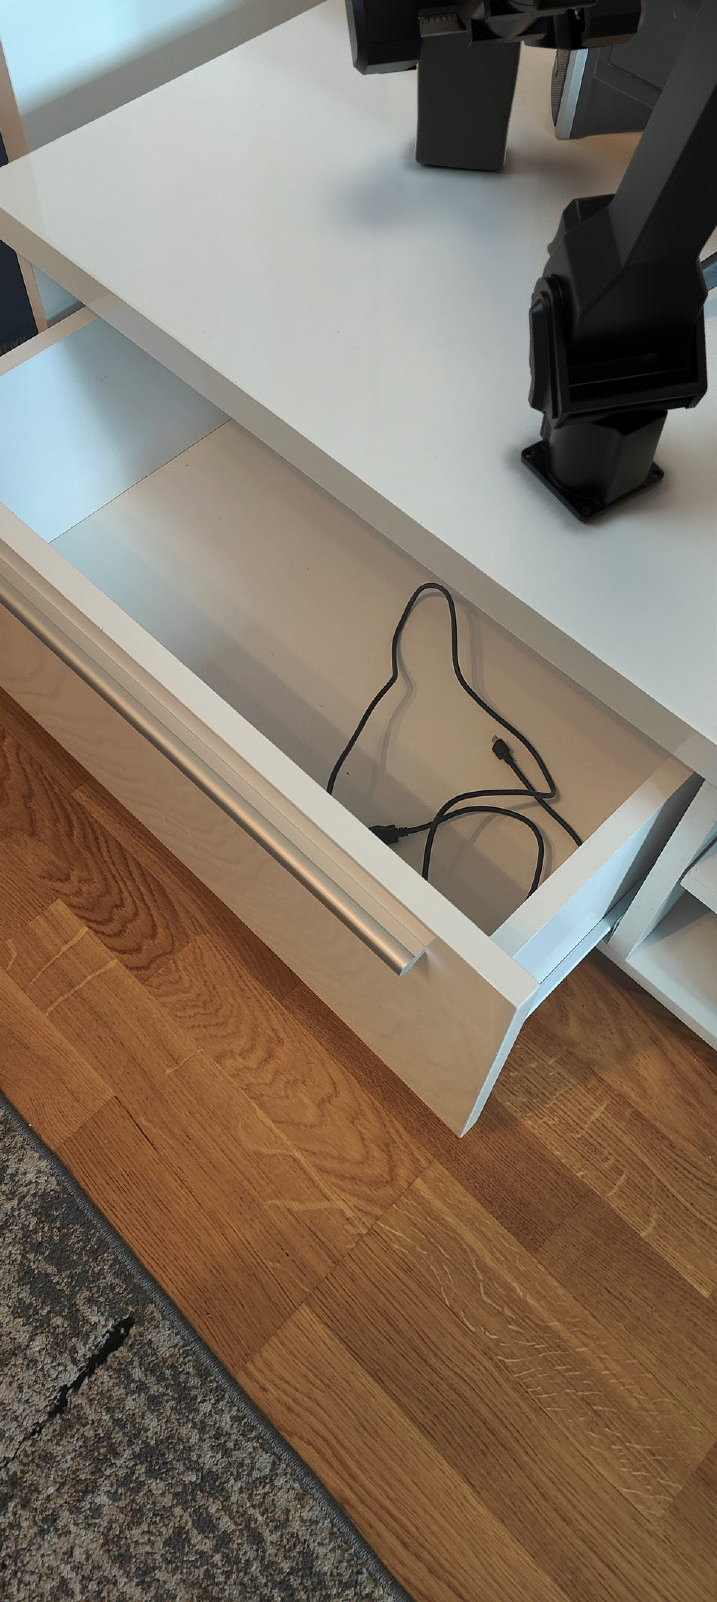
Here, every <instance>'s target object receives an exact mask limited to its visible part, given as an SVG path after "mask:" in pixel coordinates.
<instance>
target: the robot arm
mask: <svg viewBox="0 0 717 1602" xmlns="http://www.w3.org/2000/svg"><path fill="white" fill-rule="evenodd" d="M344 6H345V14H346V22H347V30H348V37H349V38H348V39H349V45H350V52H351V61H352V66H353V68H354V69H356V71H357V72H359V73H360V74H361V75H362V76H368V75H376V74H377V75H386V74H393V73H400V72H401V73H402V72H408V71H409V72H411V71H417V63H418V62H419V60H420V48H421V38H425V37H434V36H442V35H450V34H459V33H467V42H468V48H469V47H477V46H485V45H493V44H502V43H510V42H518V41H522V42H523V44H524V46H526V47H531V48H538V49H546V50H547V49H548V50H557V51H566V52H575V51H580V50H590V49H596V48H597V49H598V48H604V47H606V46H613V45H622V44H627V43H628V42H629V41H630V40H631V39H632V38H633V37H635V36H636V35H637V33H638V32H639V30H640V29H641V27H642V26H643V24H644V21H645V17H646V11H647V1H646V0H344ZM448 14H450V15H449V19H447V16H446V15H448ZM452 14H456V15H455V19H454V18H453V15H452ZM440 15H444V16H443V20H441V17H440ZM431 16H432V17H431ZM434 16H437V20H436V21H435V18H434ZM459 16H460V17H459ZM422 17H426V18H425V20H424V23H423V20H422ZM428 17H431V20H430V22H429V19H428ZM716 228H717V0H702V2H701V5H700V7H699V9H698V12H697V14H696V16H695V18H694V20H693V22H692V25H691V27H690V29H689V31H688V33H687V36H686V38H685V40H684V42H683V44H682V47H681V49H680V50H679V53H678V55H677V58H676V60H675V62H674V64H673V66H672V69H671V70H670V73H669V75H668V78H667V80H666V82H665V84H664V86H663V88H662V90H661V93H660V95H659V98H658V99H657V101H656V104H655V106H654V107H653V110H652V112H651V115H650V117H649V119H648V121H647V123H646V126H645V128H644V130H643V132H642V134H641V136H640V139H639V141H638V142H637V146H636V148H635V150H634V152H633V154H632V157H631V158H630V161H629V163H628V165H627V168H626V170H625V172H624V174H623V177H622V179H621V181H620V183H619V185H618V187H617V190H616V191H615V193H614V192H613V193H607V194H600V195H592V196H585V197H577V198H572V200H571V201H570V202H569V203H568V204H567V206H566V207H565V208H564V209H563V210H562V213H561V216H560V220H559V223H558V227H557V230H556V233H555V235H554V237H553V239H552V240H551V242H550V243H548V244H547V246H546V251H547V254H548V255H549V257H548V259H547V261H546V263H545V265H544V267H543V271H542V275H541V277H539V278H538V279H537V280H536V282H535V285H534V288H533V292H532V293H531V298H530V308H529V309H528V328H529V330H528V331H529V346H528V347H529V351H528V366H529V371H530V372H529V373H530V386H529V392H528V398H527V402H528V404H529V406H530V408H531V409H533V410H536V411H538V412H540V413H542V421H541V424H540V425H541V426H540V429H539V436H540V437H541V439H540V440H539V441H537V442H535V443H532V444H531V445H529V446H527V447H525V448H523V449H522V451H521V452H520V457H519V458H520V462H521V463H523V465H524V466H525V467H526V468H527V469H528V470H529V471H530V472H531V474H533V475H534V476H535V478H536V479H538V480H539V481H540V483H542V484H543V485H544V486H545V487H546V488H547V490H548V491H550V493H551V494H553V496H554V497H555V498H556V499H557V500H559V502H560V503H561V504H562V505H564V507H565V508H566V509H567V510H568V511H569V512H570V513H571V514H572V515H573V516H574V517H575V518H576V519H577V520H578V521H579V522H581V523H589V522H591V521H593V520H595V519H597V518H598V517H600V516H602V515H604V514H605V513H607V512H609V511H612V510H613V509H616V508H617V507H619V506H621V505H623V504H625V503H626V502H628V501H630V500H631V499H633V498H636V497H637V496H640V495H641V494H643V493H645V492H646V491H649V490H650V489H652V488H654V487H656V486H657V485H659V484H661V483H662V482H663V480H664V478H665V471H664V470H663V469H662V468H661V466H659V465H658V464H657V463H656V462H655V461H654V458H655V456H656V455H655V454H656V452H657V448H658V445H659V442H660V439H661V436H662V432H663V430H664V426H665V423H666V421H667V417H668V414H669V411H671V410H676V409H677V410H678V409H683V408H684V409H685V410H690V409H695V408H696V407H697V406H698V404H700V402H701V401H702V399H703V398H704V396H706V394H707V393H708V389H709V382H708V363H707V345H706V344H707V343H706V341H707V340H706V329H705V328H706V324H705V303H706V301H707V299H708V296H709V290H708V286H707V282H706V279H705V275H704V270H703V266H702V262H701V259H700V256H701V254H702V251H703V250H704V248H705V246H706V244H707V243H708V241H709V239H710V238H711V236H712V235H713V233H714V231H715V230H716Z"/></svg>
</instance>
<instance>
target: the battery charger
mask: <svg viewBox="0 0 717 1602" xmlns="http://www.w3.org/2000/svg"><path fill="white" fill-rule="evenodd" d="M449 15H450V14H448V15H446V16H447V19H449ZM452 15H453V18H454V19H455V15H456V14H452ZM443 16H444V15H440V17H441V20H443ZM431 17H432V16H431ZM431 17H428V19H429V22H430V20H431ZM459 17H460V16H459ZM425 18H426V17H422V20H423V23H424V20H425ZM434 18H435V21H436V20H437V16H434ZM522 47H523V41H518V42H510V43H502V44H493V45H485V46H477V47H469V48H468V42H467V33H459V34H450V35H442V36H434V37H425V38H421V48H420V60H419V62H418V63H417V69H416V127H415V143H414V144H415V145H414V153H413V155H414V160H415V162H416V163H418V164H423V165H429V166H430V165H431V166H438V167H446V168H458V169H470V170H486V171H488V170H489V171H490V170H491V171H494V170H495V171H501V170H502V169H503V168H504V166H505V164H506V159H507V146H508V139H509V130H510V123H511V118H512V113H513V108H514V101H515V95H516V90H517V84H518V78H519V70H520V63H521V56H522V55H521V53H522Z"/></svg>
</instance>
